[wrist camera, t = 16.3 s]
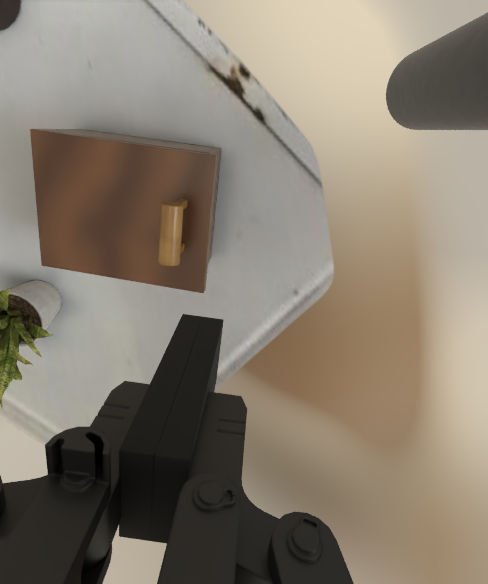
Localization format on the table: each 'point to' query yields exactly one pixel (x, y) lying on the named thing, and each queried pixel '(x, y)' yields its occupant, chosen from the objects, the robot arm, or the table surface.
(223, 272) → the table surface
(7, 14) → the bottle
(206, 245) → the lid
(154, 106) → the table surface
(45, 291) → the house plant
